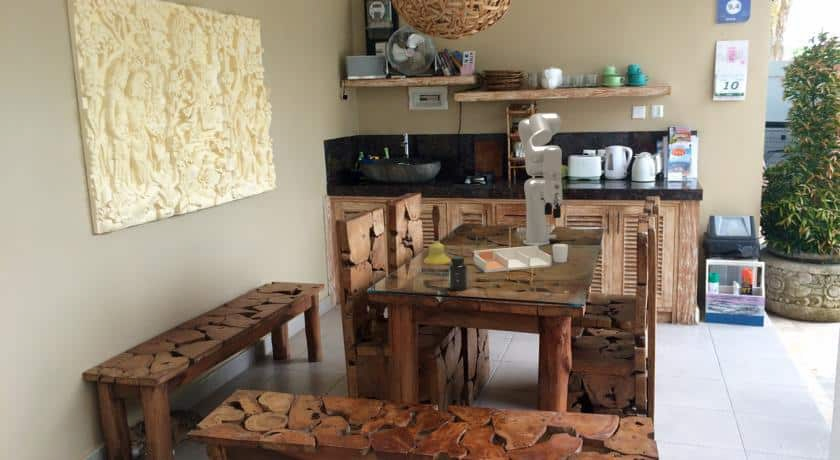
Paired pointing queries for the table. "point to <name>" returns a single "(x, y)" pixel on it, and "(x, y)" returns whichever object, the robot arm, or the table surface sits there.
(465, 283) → the supplement bottle
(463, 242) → the table surface
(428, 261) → the handbell
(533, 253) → the rack
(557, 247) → the white and grey cylinder
